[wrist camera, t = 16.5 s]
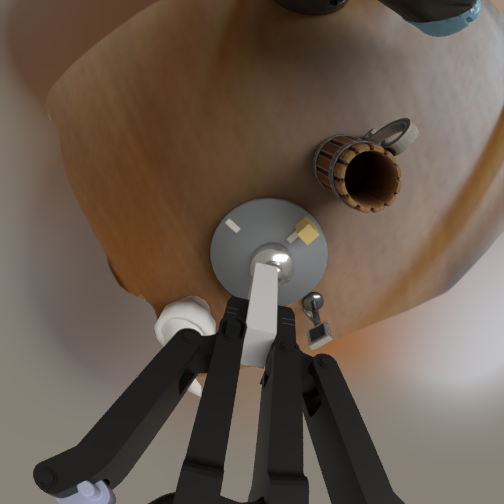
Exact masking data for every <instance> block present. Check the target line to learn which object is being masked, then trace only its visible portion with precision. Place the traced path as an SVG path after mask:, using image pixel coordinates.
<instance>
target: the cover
mask: <svg viewBox="0 0 504 504" xmlns="http://www.w3.org/2000/svg"><path fill="white" fill-rule="evenodd" d="M256 262H257V263H261V264H266V265H271V266H275V267H278V288H279V287H282V286H284V285H286V284H287V283H288V282H289V281H290V280H291V278H292V277H293V274H294V263H293V256H292V254H291V252H290V250H289V249H288V248H287V247H286V246H284V245H282V244H280V243H276V242H269V243H265V244H262V245H261V246H259V247H258V248H257V249H256V250H255V251H254V253H253V256H252V261H251V266H250V272H251V275H252V277H253V273H254V269H255V265H256Z"/></svg>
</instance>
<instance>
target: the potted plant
mask: <svg viewBox="0 0 504 504" xmlns="http://www.w3.org/2000/svg"><path fill="white" fill-rule="evenodd" d="M184 328H191V329H195V330H197V331H198V332H199V333H200V334H201V335H202V336H208V335H213V334H215V333H216V322H215V320H214V319H213V317H212V316H211V313H210V307H209V306H208V304H207V303H206V301H205V300H203V299H201V298H200V297H198V296H187V297H185V298H183V299H181V300H180V301H175V302H173V303H170V304H168V305H166V306H165V308H164V310H163V312H162V313H161V315H160V317H159V319H158V321H157V322H156V324H155V326H154V330H155V334H156V339H157V340H158V341H159V342H160V343H161V345H162V346H163V347H164V346H165V345H166V344H167V343H168V341H169V340H170V339H171V338H172V337H173V336H174V335H175V334H176V332H177V331H179V330H180V329H184ZM136 377H138V375H137V376H136ZM201 389H202V388H201V385H200V384H199V382H198V381H197V380H196V378H195V379H194V381H193V382H192V384H191V385H190V387H189V388H188V390H187V391H189V392H191V393H193V394H195V395H197V396H199V397H201V391H202V390H201Z"/></svg>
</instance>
